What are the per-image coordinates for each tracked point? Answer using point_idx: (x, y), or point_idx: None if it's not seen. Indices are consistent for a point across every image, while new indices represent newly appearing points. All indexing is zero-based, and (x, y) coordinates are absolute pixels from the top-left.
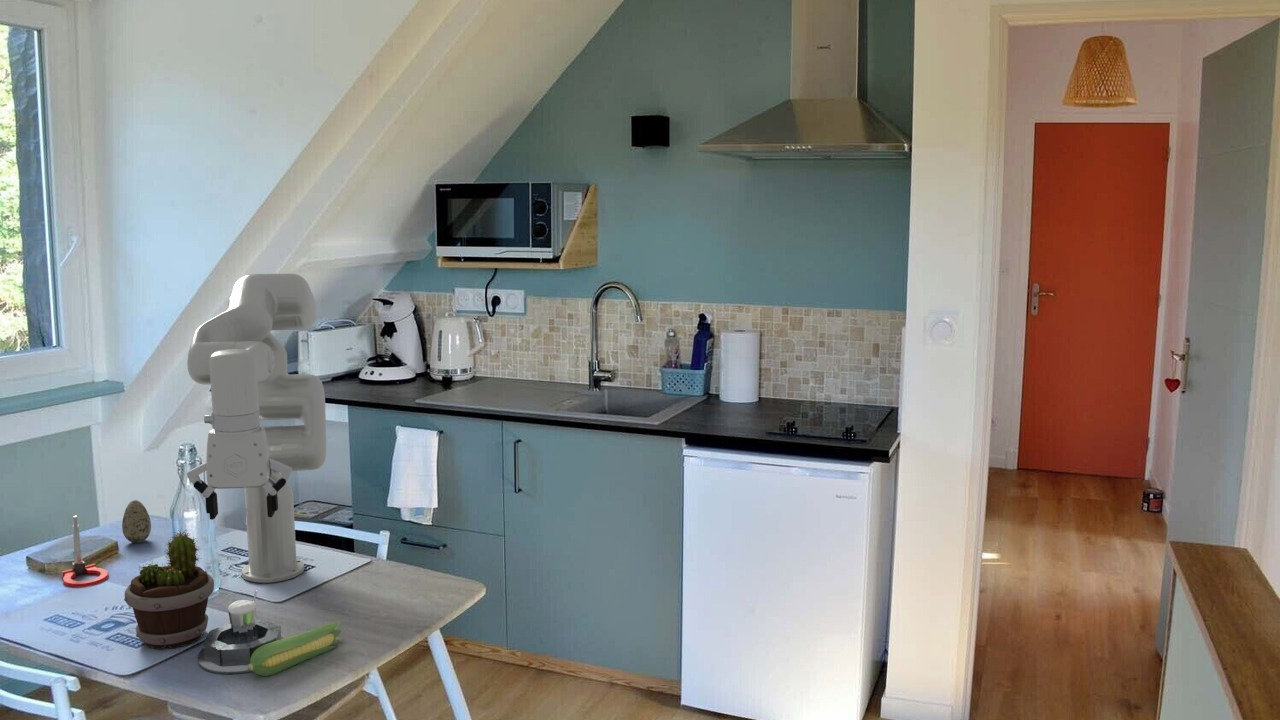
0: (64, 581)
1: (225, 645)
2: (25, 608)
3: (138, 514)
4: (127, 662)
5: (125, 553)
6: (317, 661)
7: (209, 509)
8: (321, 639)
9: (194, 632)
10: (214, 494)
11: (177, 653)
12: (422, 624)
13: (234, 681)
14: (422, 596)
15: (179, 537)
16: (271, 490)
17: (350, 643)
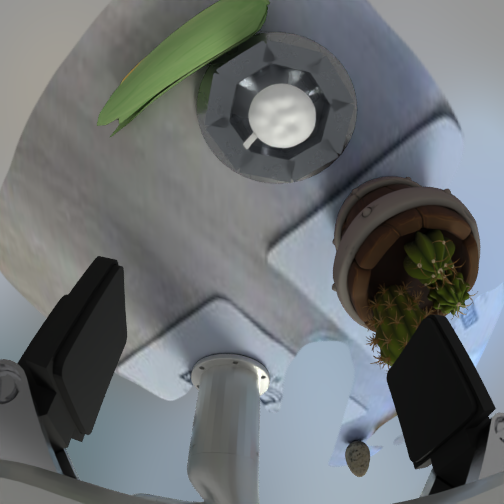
0: None
1: (314, 70)
2: (478, 345)
3: (358, 464)
4: (444, 159)
5: (370, 428)
6: (152, 46)
7: (465, 353)
8: (132, 69)
9: (361, 187)
10: (431, 453)
11: (381, 159)
12: (17, 156)
13: (294, 10)
14: (32, 250)
15: None
16: (8, 404)
17: (100, 106)
